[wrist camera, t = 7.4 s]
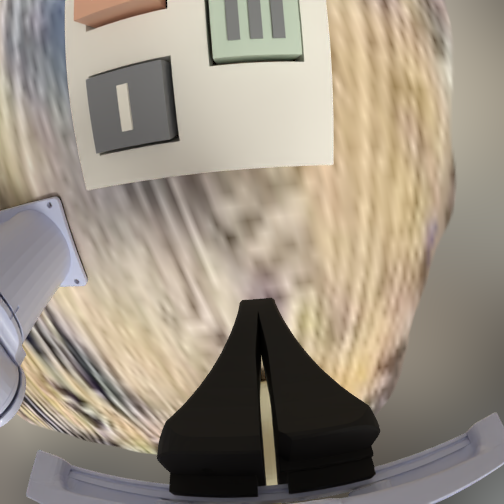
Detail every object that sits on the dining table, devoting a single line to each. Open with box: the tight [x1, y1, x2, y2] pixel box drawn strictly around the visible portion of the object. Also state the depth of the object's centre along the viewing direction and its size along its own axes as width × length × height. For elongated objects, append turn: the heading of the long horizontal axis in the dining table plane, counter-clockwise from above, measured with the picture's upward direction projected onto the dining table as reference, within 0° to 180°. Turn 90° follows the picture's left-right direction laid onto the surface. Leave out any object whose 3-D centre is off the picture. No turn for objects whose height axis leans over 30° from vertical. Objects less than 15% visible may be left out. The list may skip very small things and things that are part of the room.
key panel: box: [65, 0, 333, 191], centre depth 13 cm, size 15×17×2 cm
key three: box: [209, 0, 302, 64], centre depth 12 cm, size 4×4×3 cm
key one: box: [86, 60, 179, 154], centre depth 14 cm, size 4×4×3 cm
